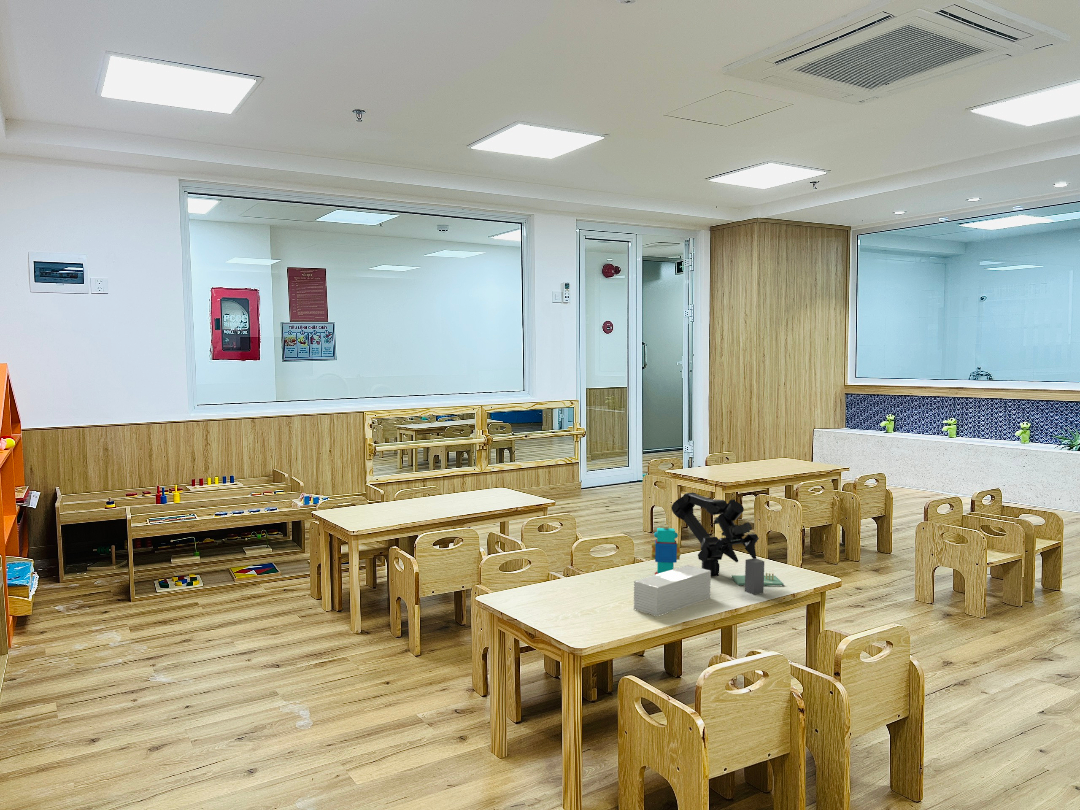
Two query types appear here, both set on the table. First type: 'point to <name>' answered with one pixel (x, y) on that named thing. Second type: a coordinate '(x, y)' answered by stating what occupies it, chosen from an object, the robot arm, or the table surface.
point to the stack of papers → (672, 590)
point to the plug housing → (754, 576)
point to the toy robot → (665, 549)
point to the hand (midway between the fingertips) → (746, 560)
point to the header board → (767, 579)
